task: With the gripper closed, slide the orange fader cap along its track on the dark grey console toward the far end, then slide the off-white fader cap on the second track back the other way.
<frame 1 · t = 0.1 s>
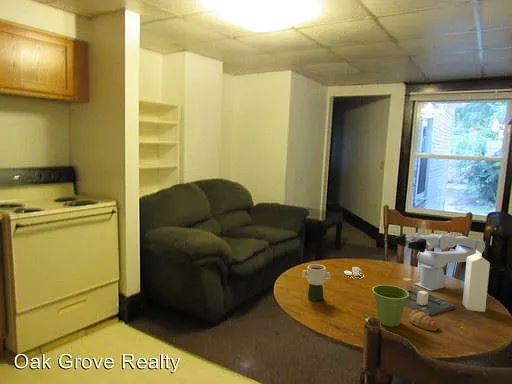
hand: (401, 243, 146), 22 cm above the table, tool horizontal, fingers open, 7 cm apart
fader a: (407, 284, 150), point 4 cm above the table, slide at 0.0 cm
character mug: (315, 298, 143), on the table
plant pot: (388, 322, 125), on the table
teacup and saucer: (352, 274, 173), on the table
milk: (473, 308, 137), on the table
console: (416, 300, 143), on the table
fader b: (422, 297, 136), point 4 cm above the table, slide at 0.0 cm
pastry: (422, 325, 124), on the table
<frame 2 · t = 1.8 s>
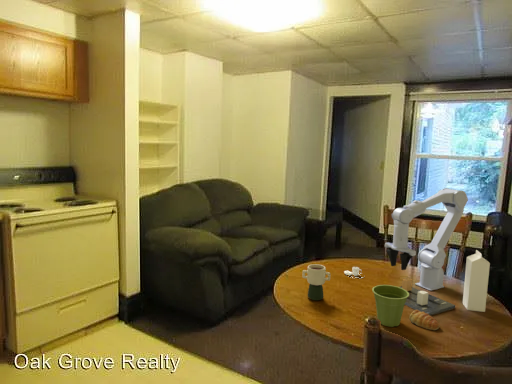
hand: (398, 267, 153), 9 cm above the table, tool pointing down, fingers open, 5 cm apart
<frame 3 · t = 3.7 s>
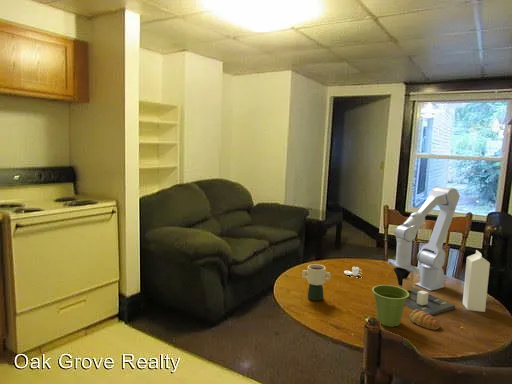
hand: (401, 285, 152), 2 cm above the table, tool pointing down, fingers closed
fader a: (407, 284, 150), point 4 cm above the table, slide at 0.0 cm, touching gripper
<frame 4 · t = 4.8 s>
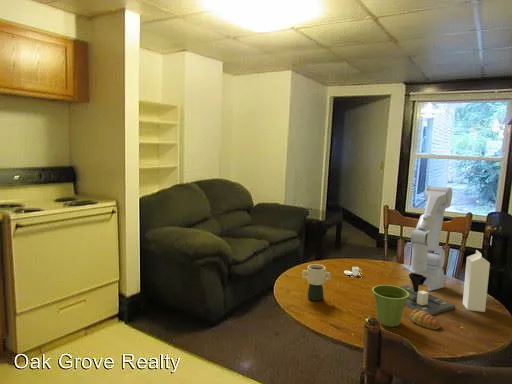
hand: (416, 291, 146), 2 cm above the table, tool pointing down, fingers closed
fader a: (423, 291, 143), point 4 cm above the table, slide at 7.7 cm, touching gripper
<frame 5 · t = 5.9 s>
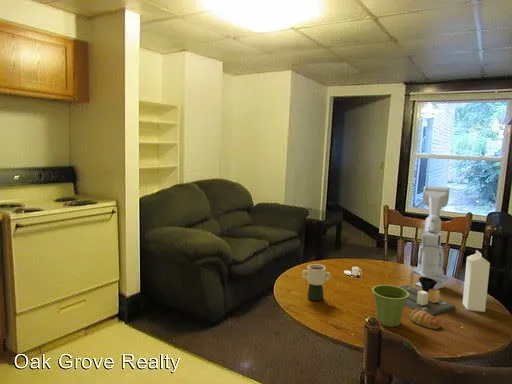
hand: (427, 296, 141), 2 cm above the table, tool pointing down, fingers closed
fader a: (433, 295, 139), point 4 cm above the table, slide at 12.4 cm, touching gripper
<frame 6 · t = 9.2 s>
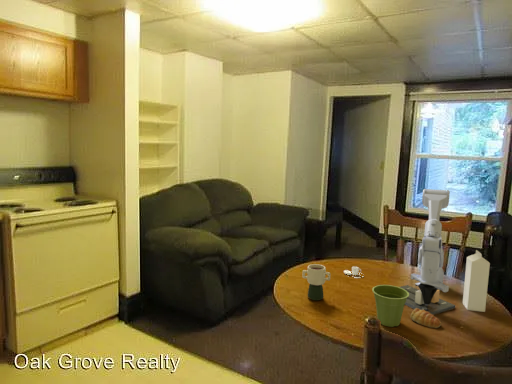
hand: (427, 303, 135), 2 cm above the table, tool pointing down, fingers closed
fader a: (433, 295, 139), point 4 cm above the table, slide at 12.4 cm
fader b: (420, 297, 137), point 4 cm above the table, slide at -0.8 cm, touching gripper
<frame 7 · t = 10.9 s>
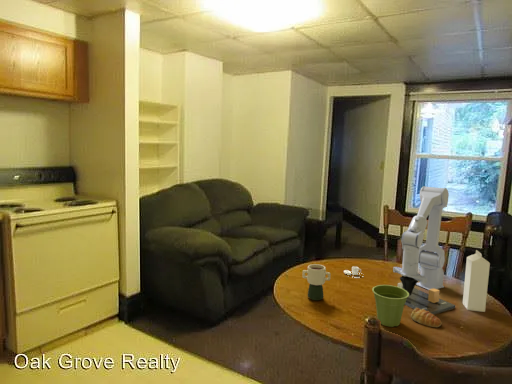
hand: (408, 294, 142), 2 cm above the table, tool pointing down, fingers closed
fader b: (402, 289, 145), point 4 cm above the table, slide at -9.4 cm, touching gripper
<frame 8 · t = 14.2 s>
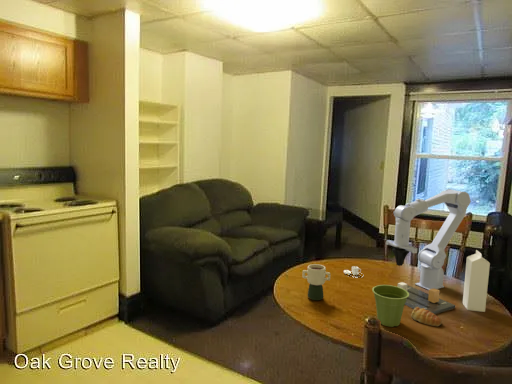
hand: (399, 265, 154), 10 cm above the table, tool pointing down, fingers closed
fader b: (402, 289, 145), point 4 cm above the table, slide at -9.4 cm
at the end: fader a slide at 12.4 cm; fader b slide at -9.4 cm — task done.
